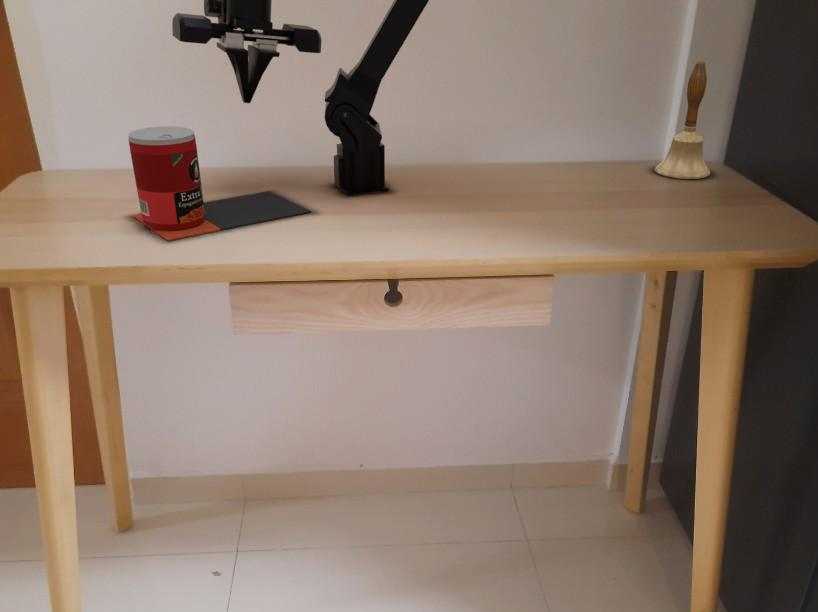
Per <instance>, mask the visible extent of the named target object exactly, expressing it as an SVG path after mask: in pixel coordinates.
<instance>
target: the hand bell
mask: <svg viewBox="0 0 818 612" xmlns="http://www.w3.org/2000/svg"><path fill="white" fill-rule="evenodd" d="M707 76H708V75H707V68H706V62H704V61H696V62H695V64H694V68H693V69H692V71H691V74H690V76H689V79H688V82H687V89H686V99H687V109H686V110H687V111H686V116H685V121H684V127H683V131H682V132H680V133H677V134H676V135H674V136H673V137H672V140H671V144H670V147H669V149H668V152H667V154H666V156H665V157H664V159H663V160H662V161H661V162H659V163H658V164H657V165H656V166H655V167H654V172H655V173H656V174H658V175H660V176H663V177H667V178H671V179H678V180H699V179H700V180H701V179H705V178H708V177H710V175H711V172H710V169H709V167H708V166H707V164H706V163H705V159H704V138H703V137H702V136H701V135H699V134H698V133H697V120H698V114H699V108H700V105H701V103H702V101H703V98H704V96H705V93H706V88H707V84H708V83H707V82H708V80H707V79H708V77H707Z"/></svg>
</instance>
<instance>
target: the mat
mask: <svg viewBox="0 0 818 612" xmlns="http://www.w3.org/2000/svg"><path fill="white" fill-rule="evenodd" d="M204 211H205V216H204V219H205V220H207V221H208V222H210V223H212V224H213V225H215V226H217V227H218V228H220V229H221V231H226V230H230V229H231V230H232V229H235V228H240V227H245V226H250V225H251V226H252V225H255V224H260V223H265V222H270V221H275V220H280V219H285V218H291V217H296V216H301V215H306V214H311V213H312V210H310V209H308V208H305V207H304V206H302V205H299V204H296V203H295V202H293V201H291V200H289V199H287V198H285V197H282V196H280V195H278V194H276V193H274V192H273V191H270V190H268V191H262V192H257V193H251V194H246V195H239V196H235V197H229V198H228V197H227V198H223V199H217V200H211V201H205V202H204Z"/></svg>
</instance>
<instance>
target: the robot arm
mask: <svg viewBox="0 0 818 612" xmlns="http://www.w3.org/2000/svg"><path fill="white" fill-rule="evenodd" d="M272 1H273V0H203V12H204V13H203V14H204V15H201V14H191V13H182V12H177V13H176V14H174V16H173V17H172V23H171V24H172V28H171V29H172V37H174V38H175V39H177V40H178V41H179V42H182V43H189V44H190V43H191V44H205V45H207V44H208V43H209V42H210V41H211V40H212V39H218V42H216V47H217V48H218V49H219V50H221V51H222V52H224V53H225V54H226V55H227V57H228V60H229V61H230V64H231V66H232V69H233V72H234V76H235V79H236V83H237V86H238V89H239V94H240V97H241V101H242V102H243V104H251V103H252V101H253V98H254V95H255V94H256V91H257V88H258V86H259V84H260V81H261V79H262V77H263V75H264V74H265V72H266V70H267V69H268V66H269V65H270V63H271V62H272V59H273V58H279V57H280V55H281V54H280V52H279V51H277V47H278V45H286V46H289V47H295V49H296V50H297V52H300V53H311V54H321V53H322V41H323V40H322V36H321V33H320V32H319V30H318V29H316V28H313V27H311V26H308V25H300V24H291V23H283V25H282V28H273V26H274V25H273V24H274V23H273V22H272ZM429 1H430V0H393V1H392V4H391V5H390V7H389V9H388V10H387V12H386V14H385V15H384V17H383V19H382V21H381V22H380V24H379V26H378V28H376V29H377V30H376V31H375V33H374V34H373V37H371V40H370V42H369V43H368V45H367V46H366V48H365V51H364V52H363V54H362V56H361V57H360V59H359V60H358V62H357V63H356V64H355V66H354V67H352V68H351V70H350V71H349V72H348V73H347V72H346V71H345V70H344V69H343V68H342V67H339V68H338V70H337V74H336V76H335V79H334V81H333V83H332V85H331V86H330V88H327V90H326V91H325V93H324V102H325V106H324V107H325V108H324V122H325V125H326V127H327V129H328V130H329V132H330V133H332V134H333V136H335V137H337V138H338V139H339V140H340V143H336V154H335V155H334V156H333V174H334V175H333V178H334V179H333V180H334V186H336V187H337V188H338V189H339V190H340V191H342V192H343V193H344V194H345V195H348V196H351V195H362V194H370V193H381V192H388V191H390V187H389V186H388V185H387V184H386V173H385V172H386V163H385V162H386V161H385V160H386V159H385V158H386V156H385V155H386V154H385V153H386V152H385V151H386V150H385V147H386V145H385V144H383V143H382V139H383V135H382V131H381V127H380V123H379V122H378V121H377V120H376V119H375V118H374V117H373V116H372V115H371V112H372V109H373V106H374V104H375V100H376V97H377V95H378V91H379V89H380V85H381V83H382V81H383V79H384V77H385V75H386V74H387V72H388V70H389V69H390V67H391V65H392V64H393V62H394V60H395V59H396V57H397V55H398V53H399V51H401V48H402V47H403V45H404V43H405V42H406V40H407V38H408V37H409V35H410V33H411V32H412V30H413V28H414V26H415V25H416V23H417V22H418V19H419V18H420V16H421V15H422V13H423V11H424V10H425V8H426V6H427V4H428V3H429ZM211 18H217V22H212V20H211ZM245 42H251V44H247V49H246V48H245V47H244V45H245V44H244V43H245Z"/></svg>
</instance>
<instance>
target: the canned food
mask: <svg viewBox="0 0 818 612" xmlns="http://www.w3.org/2000/svg"><path fill="white" fill-rule="evenodd" d="M127 136H128V145H129V153H130V157H131V163H132V169H133V175H134V181H135V187H136V191H137V198H138V203H139V210H140V214H141V215H142V219H143V221H144V223H145V225H146V226H145V225H144V226H145V227H147V226H148V227H150V228H152V229H156V230H183V229H188V228H192V227H195V226H198V225H200V224H201V223H202V222H203V221H204V216H205V211H204V203H205V202H204V195H203V188H202V187H203V186H202V179H201V170H200V164H199V162H200V161H199V155H198V147H197V139H196V135H195V131H194V130H193V129H190V128H187V127H182V126H153V127H152V126H151V127H144V128H139V129H136V130H133V131H130V132H129V133H128V135H127ZM148 227H147V228H148ZM150 228H149V229H150Z"/></svg>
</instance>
